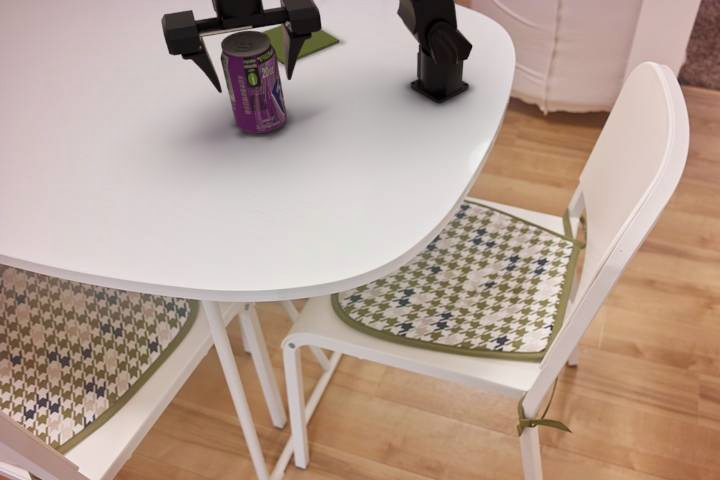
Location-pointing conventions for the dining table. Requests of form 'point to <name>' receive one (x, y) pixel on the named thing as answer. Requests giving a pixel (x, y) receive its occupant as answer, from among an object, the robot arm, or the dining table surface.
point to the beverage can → (253, 81)
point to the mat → (309, 46)
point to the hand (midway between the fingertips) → (254, 84)
